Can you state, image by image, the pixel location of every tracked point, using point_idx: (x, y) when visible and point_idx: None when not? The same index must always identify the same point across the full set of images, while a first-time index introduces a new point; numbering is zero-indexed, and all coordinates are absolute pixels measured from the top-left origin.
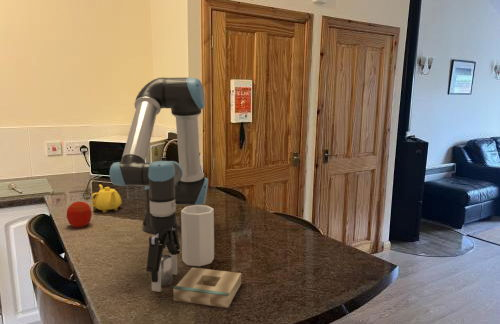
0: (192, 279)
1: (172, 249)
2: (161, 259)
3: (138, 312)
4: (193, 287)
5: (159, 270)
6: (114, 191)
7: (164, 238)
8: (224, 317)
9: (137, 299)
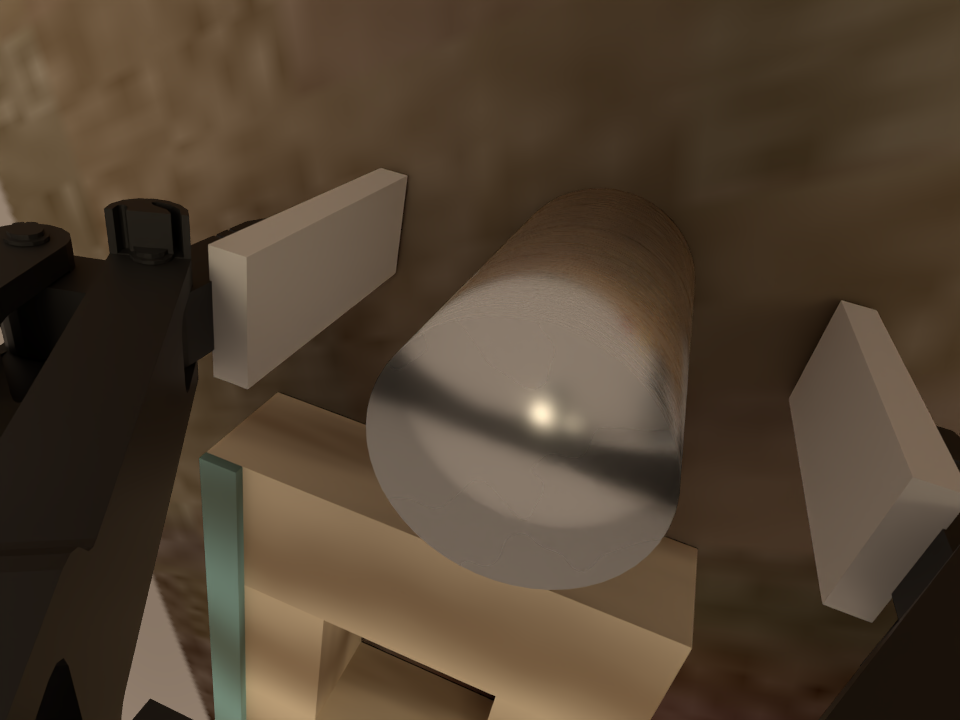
0: (400, 609)
1: (852, 679)
2: (428, 428)
3: (54, 132)
4: (268, 597)
5: (231, 374)
6: None
7: None
8: (190, 639)
9: (215, 44)
